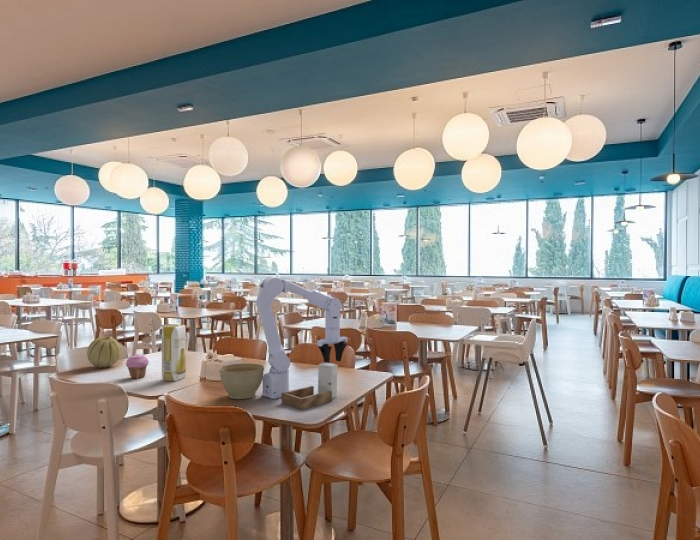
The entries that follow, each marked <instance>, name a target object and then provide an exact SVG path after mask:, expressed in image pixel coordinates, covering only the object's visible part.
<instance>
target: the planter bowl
mask: <svg viewBox="0 0 700 540" xmlns="http://www.w3.org/2000/svg"><path fill="white" fill-rule="evenodd" d="M264 371H265V366H264V365H263V364H261V363H251V362H250V363H245V362H244V363H243V362H242V363H232V364H231V363H230V364H226V365H222V366H221V367H219V373H220V374H219V375H220V381H221V385H222V387H223V388H224V390H225V391H226V393H228V394H227V395H228V398H230V399H232V400H233V399H234V400H246V399H251V398H254V397H255V396H256V392H257V391H258V389H259V388H260V387H261V384H262V383H263V376H264Z"/></svg>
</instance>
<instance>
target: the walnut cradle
mask: <svg viewBox="0 0 700 540" xmlns="http://www.w3.org/2000/svg"><path fill="white" fill-rule="evenodd" d="M314 389H315V388H314V385H310V386H305V387H300V388H297V389H296V388H295V389H292V390H289V391H287V392H283V393H282V397H281V404H284V405H285V406H289V407H292V408H295V409H298V410H305V409H309V408H312V407H317V406H319V405H323V404H327V403H331V402H333V398H332V391H327V392H323V393H319V394H318V393H316V394H315V393H314V391H315V390H314Z"/></svg>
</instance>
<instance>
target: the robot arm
mask: <svg viewBox="0 0 700 540" xmlns="http://www.w3.org/2000/svg"><path fill="white" fill-rule="evenodd" d="M288 292H289V293H291V294H295V295H297V296H300V297H303V298H306V300H307V303H308V304H311V305H313V306H316V307H318V308H320V309H323V310H325V311H324V312H325V315H324V317H325V319H324V320H325V323H324V324H325V327H324V328H325V330H324V331H325V334H324V335H325V336H324V337H325V338H322V339H319V340H317V341H316V346H318V349H319V350H320V352H321V353H320V354H321V355H322V357H323V363H324V362H325V363H331V362H330V360H331V359H330V358H331V350H332V346H330V345H333V347H334V353H335V361H336V362H341V360H342V357H343V353H344V351H345V349H346V347H347V342H348V337H347V336H341V335H340V334H341V315H340V313H341V310H342V309H343V304H342V302H341V300H340V299H339V298H338V297H332V294H330V293H328V294H327V293H325V292H322V290H321V289H319V288H317V289H314V288H313V289H311V290H310V289H307V288H305V287H303V286H301V285H299V284H296V283H294V282H292V281H290V280H285V279H281V278H279V277H271V276H270V277H266V278H264V280H263V281H262V282H261V283H260V285H259V289H258V293H257V296H256V300H255V305H256V308H257V313H258V315H259V320H260V323H261V326H262V330H263V333H264V336H265V337H264V338H265V340H266V343H267V348H268V349H267V353H268V358H267V359H268V360H267V361H268V364H269V366H270V367H269V370H268V372H267V373H263V379H262V393H261V394H260V395H261V396H264V397H267V398H270V399H271V400H272V399H273V400H275V399H280V398H282V393H283V392H287V391H290V380H289V379H290V367H291V360H290V357H288V355H287V354H286V351H285V348H284V346H283V345H282V341H281V338H280V335H279V331H278V328H277V324H276V320H275V316H274V314H273V309H272V306H271V304H272V303H273V302H274V300H275V298H277V297H278V296H279V295H280V294H282V293H288Z"/></svg>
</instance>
